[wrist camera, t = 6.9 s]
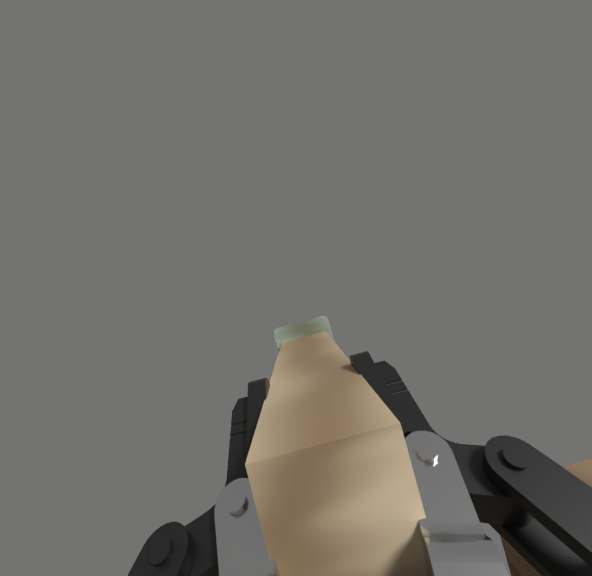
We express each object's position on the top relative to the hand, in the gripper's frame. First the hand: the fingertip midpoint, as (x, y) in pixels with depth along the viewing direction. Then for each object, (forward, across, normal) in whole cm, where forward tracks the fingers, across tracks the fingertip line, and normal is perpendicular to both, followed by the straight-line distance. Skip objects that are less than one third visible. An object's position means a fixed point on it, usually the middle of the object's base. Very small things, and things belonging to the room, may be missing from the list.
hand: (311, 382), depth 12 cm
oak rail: (+2, 0, +5) cm, 5 cm away
